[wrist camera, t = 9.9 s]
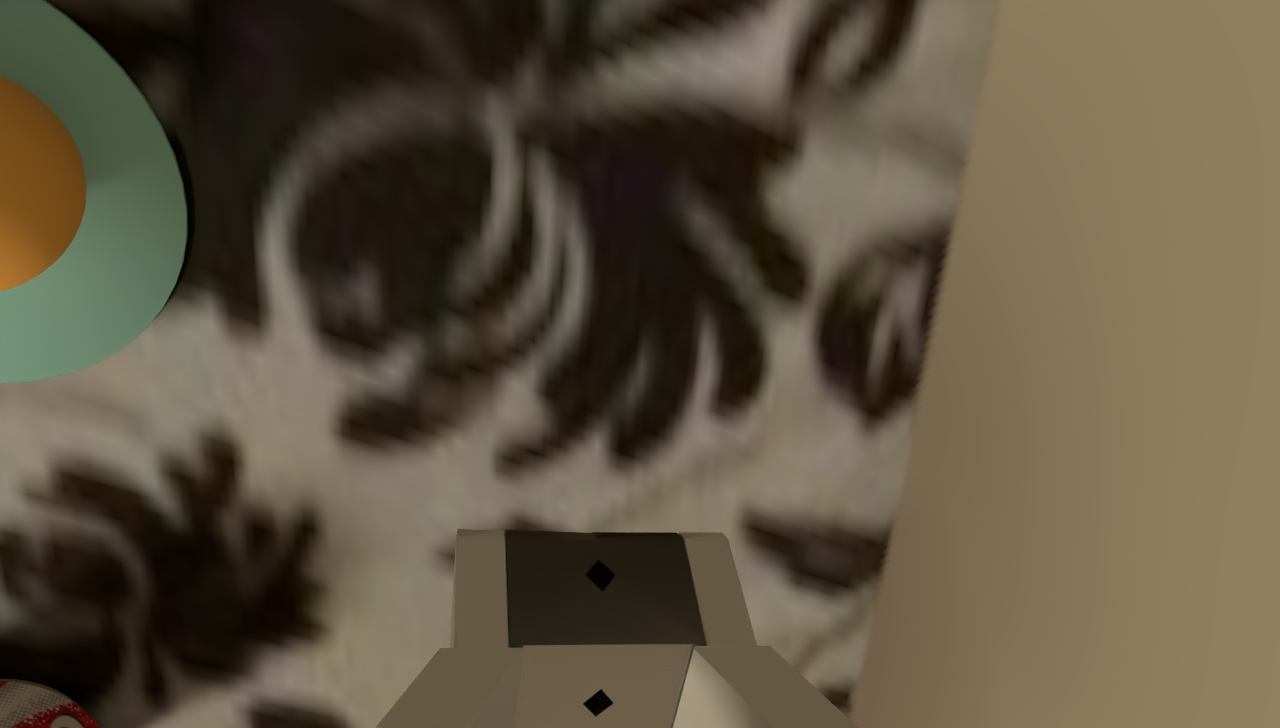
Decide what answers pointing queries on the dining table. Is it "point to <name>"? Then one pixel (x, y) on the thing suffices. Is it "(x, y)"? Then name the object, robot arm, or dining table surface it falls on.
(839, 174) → the dining table surface
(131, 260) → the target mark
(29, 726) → the soda can
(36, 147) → the ball
